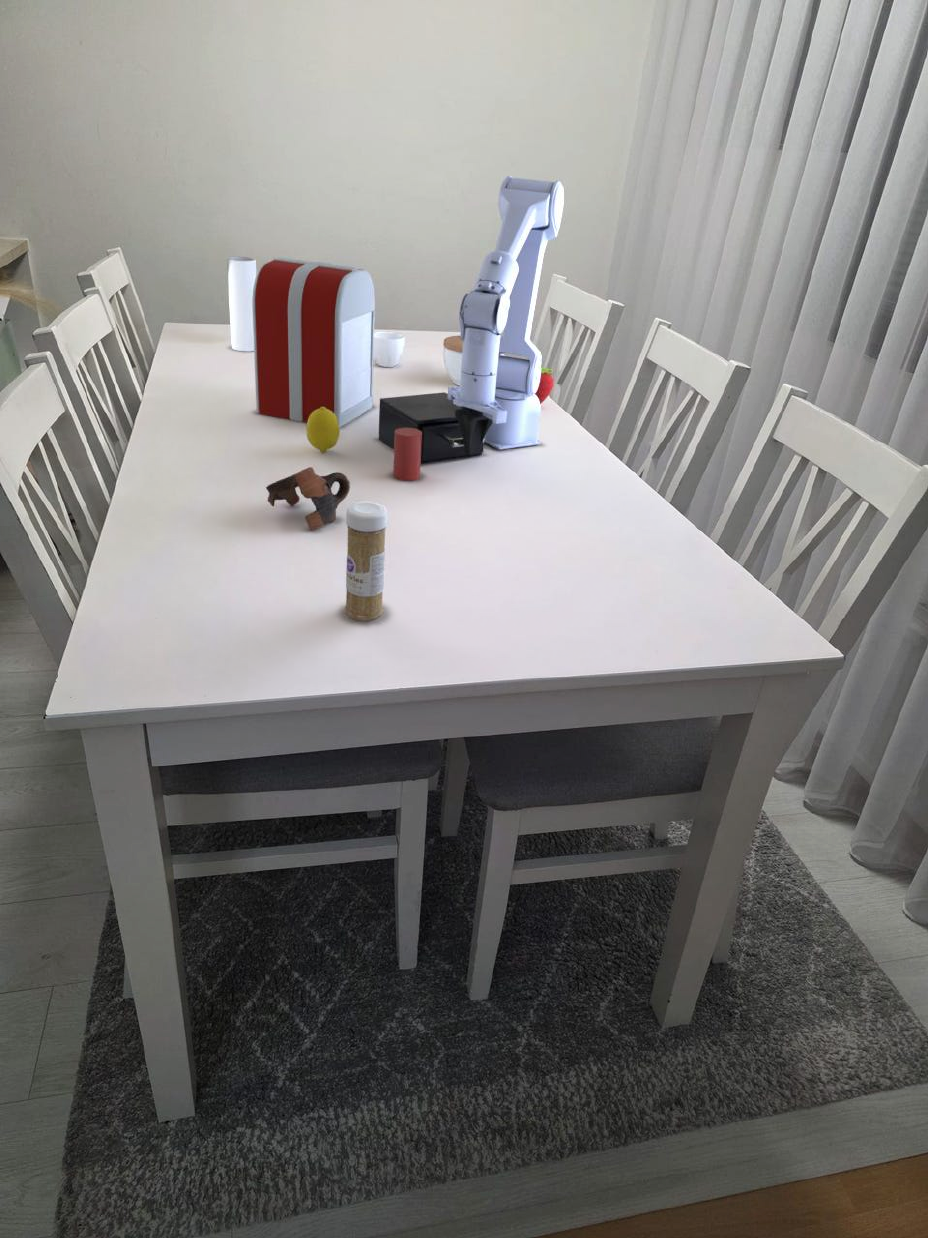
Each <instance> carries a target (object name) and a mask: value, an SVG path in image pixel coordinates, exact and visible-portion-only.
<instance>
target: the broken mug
mask: <svg viewBox="0 0 928 1238" xmlns="http://www.w3.org/2000/svg"><path fill="white" fill-rule="evenodd" d="M335 483H338V485H339V486H338V490H337V492H336V493H335V494H334V493H333V491H332V487H333V485H334V484H335ZM350 487H351V483H350V480H349V479H348V477H347V475H345V474H344V473H343V472H337V471H336V472H330V473H329V474H327V475H319V474H316V472H315V470H314V468H313V467H311V466H310V467H307V468H305V469H302V470H301V471H298V472H296V473H293V474H291V475H289V476H287V477H284V478H282V479H279V480H276V481H274V482H272V483H270V484H267V486H266V487H265V489H266V490H267V492H268V496H267V502H268V503H269V504H270V505H271V507H274V506H275V501H286V503H287V504H288V505H290V506H291V507H294V506H295V505H296V504H298V503H299V502H300V500H301V499H300V496H299V495H298V493H297V489H296V488H298V489H299V491H300V494H301V495H302V496H303V497H304V498H306V499H309V500H310V499H311V502H312V503H313V505H314V507H315V510H314V511H313V512H311V513H309V514H307V515H305V516H304V520H305V521H306V523H307V526H308V528H309V530H310V531H313V530H317V529H319V528H322V527H324V526H325V525H328V524H331V523H334V522H335V521H336V520H337V509H338V507H339V505H340V504H341V503H342V502H343V501H344V500H345V499H346V498H347V496H348V495H349V492H350Z"/></svg>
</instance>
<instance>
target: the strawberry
mask: <svg viewBox="0 0 928 1238" xmlns="http://www.w3.org/2000/svg"><path fill="white" fill-rule="evenodd" d="M546 361H547V359H545V360H544V361H543V362H542V363H541V377H540V383H539V386H538V389H537V391H536V393H535V395H536V396H537V397H538V399H539V401H540V405H542V403H544V402H545V401H546V400H547V398H548V397H549V396H550V394H551V393H552V390H553V388H554V387H555V385H554V384H555V382H554V381H555V380H554V377H553V374H552V372H555V371H556V370H555V369H550V368H546V369H545V368H544V367H543V365H544V364H545V363H546Z"/></svg>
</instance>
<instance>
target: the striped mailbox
mask: <svg viewBox="0 0 928 1238" xmlns="http://www.w3.org/2000/svg"><path fill="white" fill-rule="evenodd" d="M256 272H257V274H256V278H255V282H254V287H253V297H252V310H253V335H254V351H253V355H254V357H253V359H254V381H255V383H254V384H255V406H256V407H255V408H256V414H260V415H264V416H269V417H275V418H279V419H280V418H281V419H285V420H290V421H294V422H299V423H307V422H308V419H309V416H310V415H311V414H312V412H314V411H315V410H317V409H320V408H321V407H325V408H326V409H328V410H330V411H332V412H333V413H334V414H335V416H336V417H337V420H338V423H339V429H340V428H342V427H343V426H345V425H347V424H348V423H350V422H351V421H353V420H355V419H356V418H357V417H359V416H361V415H363V414H364V413H367V411H369V410H371V409H372V408H373V395H374V394H373V393H374V392H373V391H374V390H373V389H374V361H373V358H374V333H375V320H376V319H375V318H376V317H375V316H376V315H375V314H376V296H375V294H376V293H375V286H374V281H373V279H372V276H371V274H370V273H369V272H368V270H366V269H361V268H358V267H351V266H345V265H337V264H332V263H329V262H320V261H308V260H300V259H292V258H286V257H278V256H277V257H274V258H273V259H271V260H269V261H267V262H265V263H262V264H261V266H260V267H259V268H258V270H257V271H256Z"/></svg>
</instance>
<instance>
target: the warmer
mask: <svg viewBox="0 0 928 1238" xmlns="http://www.w3.org/2000/svg"><path fill="white" fill-rule="evenodd" d="M462 408H463V406H457V405H455V404H453V400H449V399H448V392H444V391H443V392H433V393H423V394H414V395H413V394H412V395H404V396H403V395H402V396H393V397H391V396H390V397H384V398H383V397H381V398H379V412H378V413H379V414H378V415H379V416H378V441H380V442H381V443H383V444H384V445H385V446H388V447H389V448H390V449H391V450H393V451H394V438H395V430H396V429H399V428H414V429H418V430H420V431H421V426H422V425H426V424H434V423H443V422H451V421H458V420H457V417H456V416H455V411H456V410H459V409H462ZM478 456H483V453H479V454H473V455H462V456H455V457H448V458H441V459H434V460H427V461H422V460H421V464H420V465H423V464H428V463H435V462H441V461H449V460H455V459H463V458H471V457H478Z"/></svg>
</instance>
